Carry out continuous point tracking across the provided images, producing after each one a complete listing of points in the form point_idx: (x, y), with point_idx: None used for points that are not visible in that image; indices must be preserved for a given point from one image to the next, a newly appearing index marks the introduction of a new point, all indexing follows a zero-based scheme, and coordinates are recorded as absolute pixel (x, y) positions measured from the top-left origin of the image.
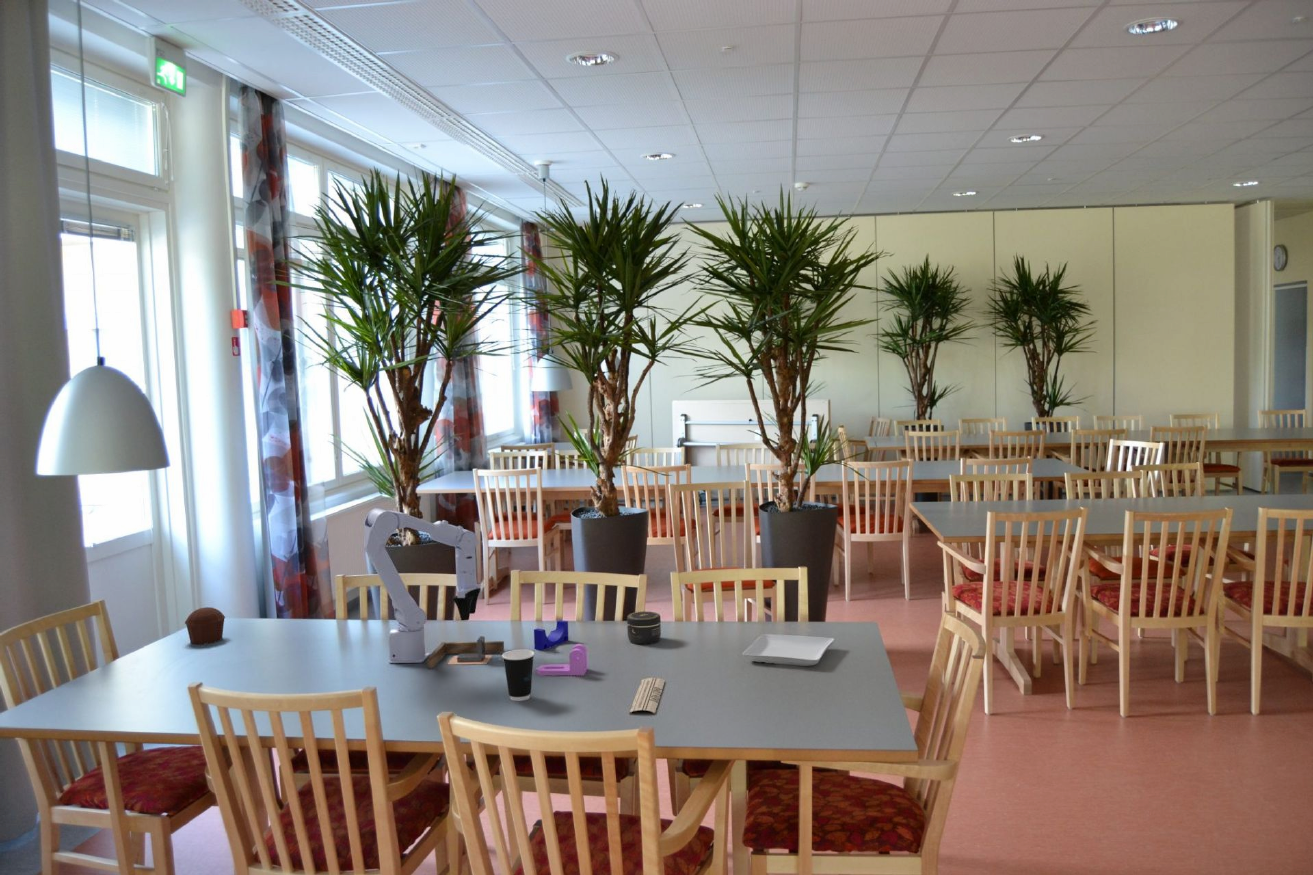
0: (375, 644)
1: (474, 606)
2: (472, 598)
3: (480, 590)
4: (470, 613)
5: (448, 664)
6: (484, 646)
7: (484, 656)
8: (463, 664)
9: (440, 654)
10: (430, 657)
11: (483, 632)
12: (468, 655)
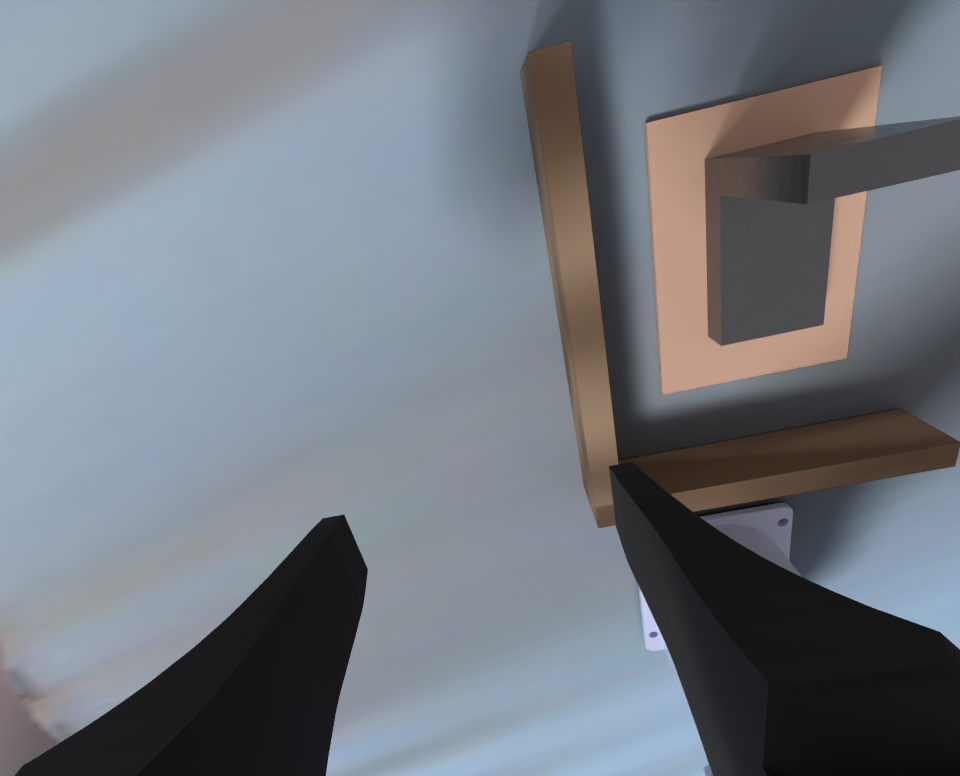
0: (488, 762)
1: (314, 573)
2: (847, 657)
3: (19, 773)
4: (357, 547)
5: (846, 348)
6: (766, 153)
7: (737, 152)
8: (857, 252)
9: (725, 458)
10: (953, 451)
11: (126, 444)
12: (773, 268)
